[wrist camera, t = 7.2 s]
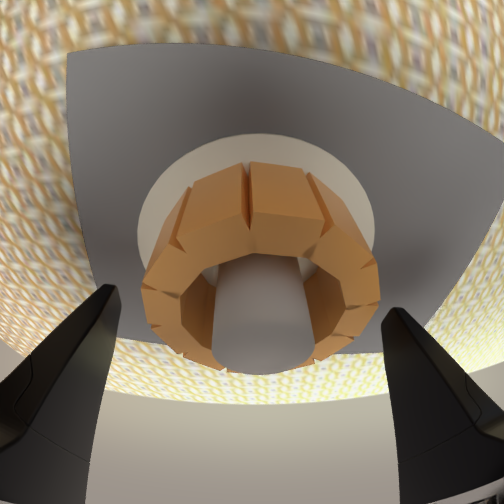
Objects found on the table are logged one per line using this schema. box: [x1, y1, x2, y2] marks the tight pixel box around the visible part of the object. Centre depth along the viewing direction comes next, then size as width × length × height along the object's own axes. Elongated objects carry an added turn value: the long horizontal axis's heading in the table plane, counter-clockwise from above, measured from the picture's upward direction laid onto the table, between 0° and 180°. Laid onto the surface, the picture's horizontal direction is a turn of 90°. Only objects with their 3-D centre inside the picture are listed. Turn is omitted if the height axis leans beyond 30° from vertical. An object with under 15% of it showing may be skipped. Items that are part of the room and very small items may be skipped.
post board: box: [66, 43, 504, 375], centre depth 10 cm, size 18×14×6 cm
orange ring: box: [141, 161, 381, 373], centre depth 9 cm, size 7×7×3 cm
